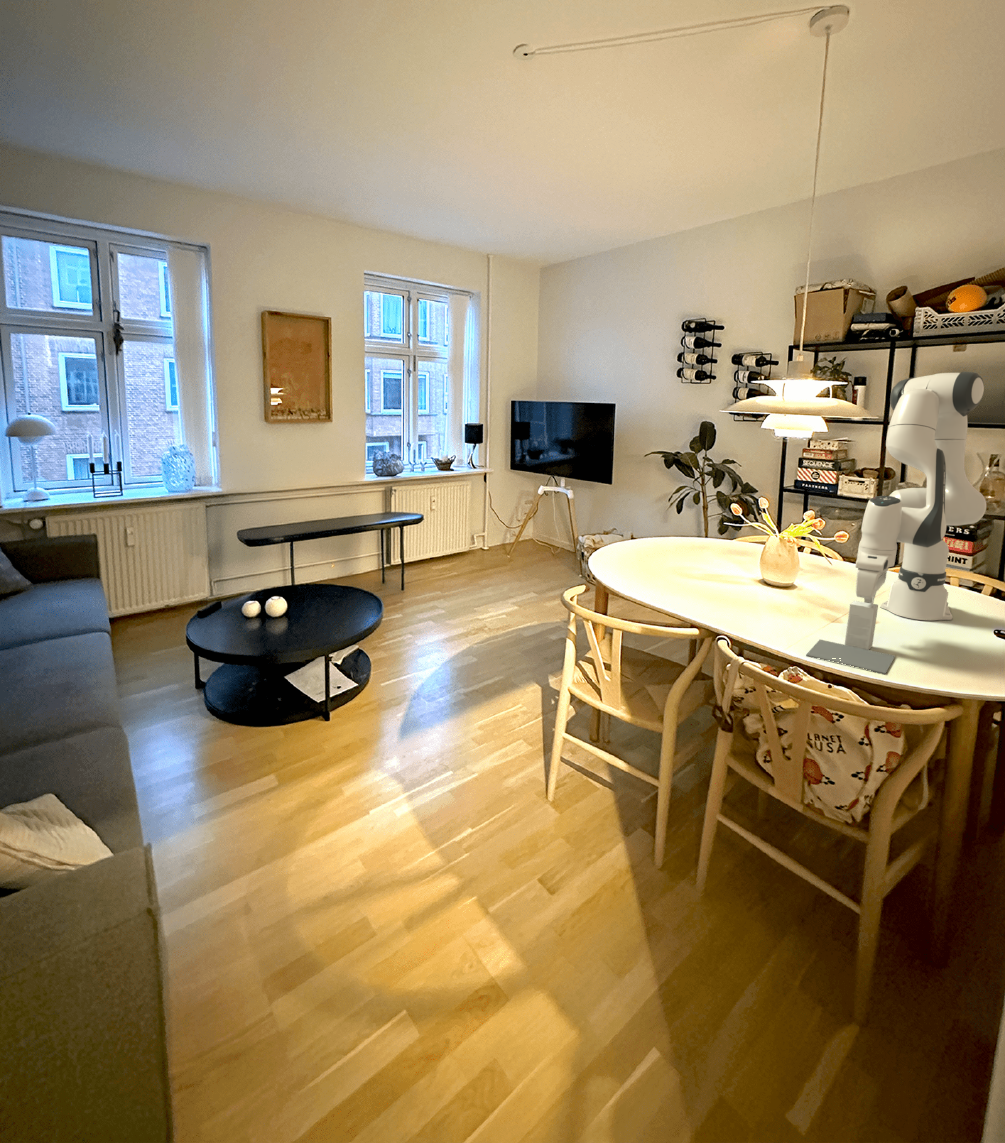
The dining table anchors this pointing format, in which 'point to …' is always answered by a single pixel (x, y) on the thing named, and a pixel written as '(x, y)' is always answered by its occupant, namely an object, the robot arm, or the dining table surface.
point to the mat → (852, 656)
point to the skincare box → (861, 624)
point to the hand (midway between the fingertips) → (868, 605)
